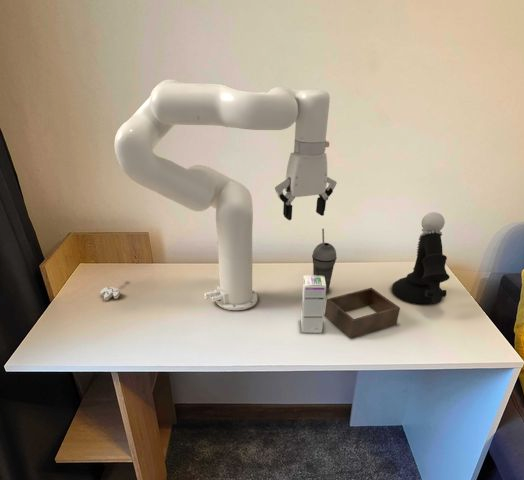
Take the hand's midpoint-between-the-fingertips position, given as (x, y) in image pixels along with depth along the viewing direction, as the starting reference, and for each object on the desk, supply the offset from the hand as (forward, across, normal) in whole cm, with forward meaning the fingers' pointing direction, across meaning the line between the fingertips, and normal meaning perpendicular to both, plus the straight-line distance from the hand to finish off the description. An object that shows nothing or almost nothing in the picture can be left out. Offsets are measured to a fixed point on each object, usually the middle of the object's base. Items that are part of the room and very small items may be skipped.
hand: (303, 216), depth 121 cm
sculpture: (+26, -35, +14) cm, 45 cm away
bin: (+26, -11, +17) cm, 33 cm away
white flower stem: (+26, +49, -25) cm, 61 cm away
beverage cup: (+26, -9, -2) cm, 28 cm away
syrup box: (+26, +3, +15) cm, 30 cm away
